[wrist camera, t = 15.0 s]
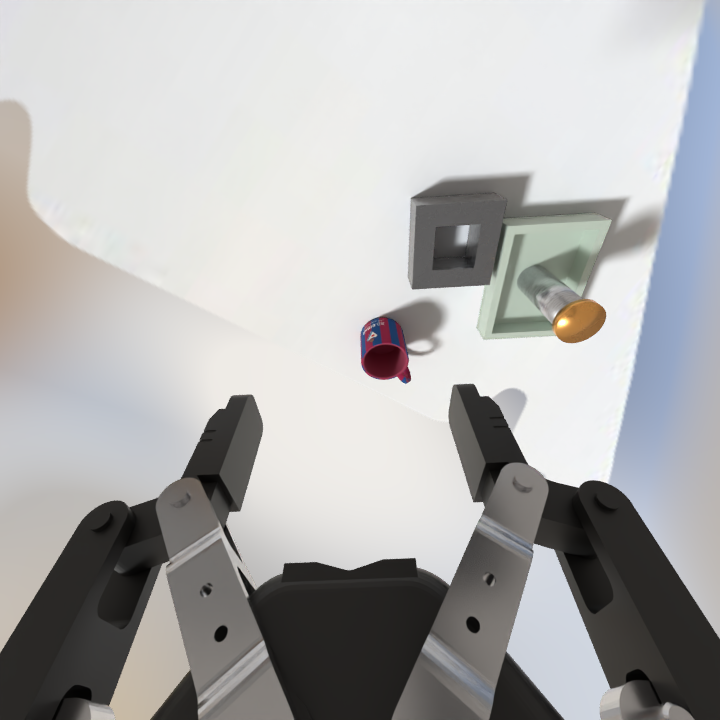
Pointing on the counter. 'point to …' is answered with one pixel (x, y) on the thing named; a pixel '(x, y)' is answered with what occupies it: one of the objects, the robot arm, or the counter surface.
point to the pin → (561, 305)
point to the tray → (537, 247)
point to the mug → (384, 350)
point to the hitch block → (481, 244)
